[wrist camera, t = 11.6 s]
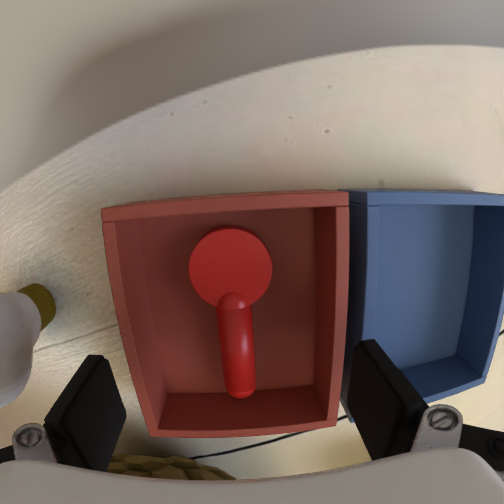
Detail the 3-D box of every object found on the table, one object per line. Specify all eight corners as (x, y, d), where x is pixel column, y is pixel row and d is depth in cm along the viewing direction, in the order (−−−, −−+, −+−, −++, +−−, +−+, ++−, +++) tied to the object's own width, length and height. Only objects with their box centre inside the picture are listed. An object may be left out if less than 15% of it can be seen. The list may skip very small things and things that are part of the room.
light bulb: (79, 354, 18) (1, 455, 8) (12, 320, 17) (-77, 391, 7) (90, 272, 16) (-23, 353, 7) (17, 241, 16) (-100, 287, 6)
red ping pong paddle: (274, 383, 18) (277, 401, 16) (208, 387, 18) (206, 406, 16) (267, 221, 16) (271, 226, 14) (188, 227, 16) (182, 232, 14)
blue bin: (337, 189, 16) (366, 191, 12) (475, 191, 17) (516, 196, 13) (332, 384, 19) (350, 423, 15) (455, 356, 19) (484, 383, 15)
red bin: (130, 202, 16) (99, 208, 12) (322, 189, 16) (348, 191, 12) (162, 395, 18) (150, 436, 14) (320, 386, 19) (336, 426, 15)
